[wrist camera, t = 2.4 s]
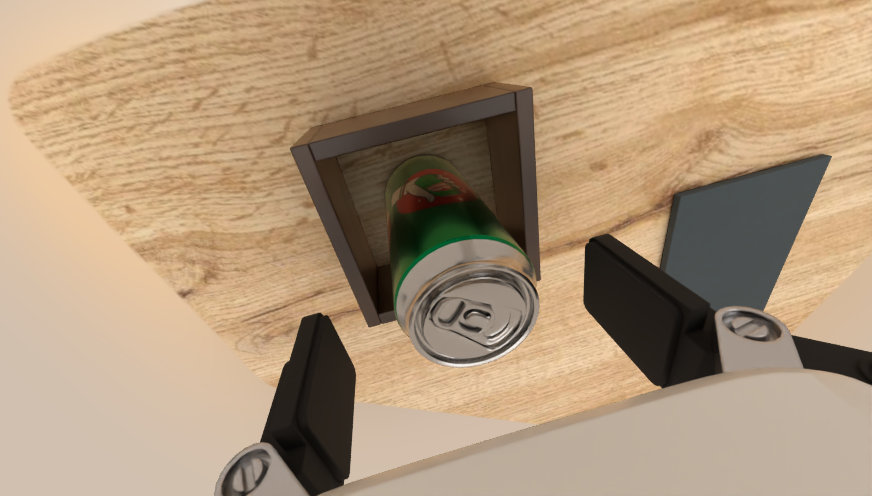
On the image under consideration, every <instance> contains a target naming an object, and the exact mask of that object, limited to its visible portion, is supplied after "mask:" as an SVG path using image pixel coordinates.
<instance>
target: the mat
mask: <svg viewBox="0 0 872 496" xmlns="http://www.w3.org/2000/svg"><path fill="white" fill-rule="evenodd" d="M831 157H832V156H829V155H824V154H822V155H818V156H815V157H811V158H807V159H804V160H800V161H796V162H792V163H789V164H785V165H781V166H778V167H774V168H770V169H766V170H763V171H759V172H755V173H752V174H748V175H744V176H740V177H737V178H733V179H729V180H726V181H722V182H718V183H714V184H711V185H707V186H703V187H699V188H696V189H692V190H688V191H685V192H681V193H677V194H675V195H674V200H673V205H672V210H671V215H670V220H669V226H668V231H667V236H666V241H665V246H664V251H663V256H662V261H661V266H660V269H661V270H662V271H664V272H665V273H667V274H668V275H669V276H671V277H672V278H674V279H675V280H677V281H678V282H680V283H681V284H683V285H684V286H685V287H687V288H688V289H690V290H691V291H693V292H694V293H696V294H697V295H699V296H700V297H701V298H703V299H704V300H706V301H707V302H709V303H710V304H711V305H710V307H711V308H712V309H714V310H715V311H718V310H720V309H722V308H725V307H731V306H741V307H749V308H753V309H757V310H760V311H763V310H764V308H765V306H766V304H767V301H768V299H769V297H770V295H771V292H772V290H773V288H774V286H775V283H776V281H777V279H778V277H779V274H780V272H781V270H782V268H783V265H784V263H785V261H786V259H787V256H788V254H789V252H790V250H791V247H792V245H793V243H794V241H795V238H796V236H797V234H798V232H799V229H800V227H801V225H802V223H803V220H804V218H805V216H806V214H807V211H808V209H809V207H810V205H811V202H812V200H813V198H814V196H815V193H816V191H817V189H818V187H819V184H820V182H821V180H822V178H823V175H824V173H825V171H826V169H827V166H828V164H829V162H830V160H831Z"/></svg>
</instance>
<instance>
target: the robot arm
mask: <svg viewBox="0 0 872 496" xmlns="http://www.w3.org/2000/svg"><path fill="white" fill-rule="evenodd" d="M583 301H584V305H585V308H586V309H587V311H588V312H589V313H590V314H591V315H592V316H593V317H594V319H595V320H596V321H597V322H598V323H599V324H600V325H601V326H602V328H603V329H604V330H605V331H606V332H607V333H608V334H609V335H610V336H611V338H612V339H613V340H614V341H615V342H616V343H617V344H618V345H619V347H620V348H621V349H622V350H623V351H624V352H625V353H626V354H627V355H628V357H629V358H630V359H631V360H632V361H633V362H634V363H635V364H636V366H637V367H638V368H639V369H640V370H641V371H642V372H643V373H644V374H645V376H646V377H647V378H648V379H649V380H650V381H651V382H652V383H653V384H654V385H656V386H660V387H661V388H662V389H659V390H655V391H652V392H648V393H645V394H641V395H638V396H635V397H631V398H628V399H624V400H621V401H618V402H614V403H611V404H607V405H604V406H600V407H597V408H594V409H590V410H587V411H583V412H580V413H577V414H573V415H570V416H566V417H563V418H560V419H556V420H553V421H550V422H546V423H543V424H540V425H536V426H533V427H530V428H526V429H523V430H520V431H516V432H513V433H510V434H506V435H503V436H500V437H496V438H493V439H490V440H486V441H483V442H480V443H476V444H473V445H470V446H466V447H463V448H460V449H457V450H453V451H450V452H447V453H444V454H440V455H437V456H434V457H430V458H427V459H424V460H420V461H417V462H414V463H411V464H407V465H404V466H401V467H398V468H395V469H392V470H388V471H385V472H382V473H379V474H376V475H373V476H370V477H367V478H364V479H361V480H358V481H355V482H352V483H348V484H346V485H344V479H347V478H348V477H349V474H350V461H351V445H352V429H353V413H354V398H355V382H356V372H355V368H354V365H353V363H352V361H351V359H350V357H349V355H348V353H347V351H346V349H345V348H344V346H343V344H342V342H341V340H340V338H339V336H338V334H337V332H336V330H335V328H334V326H333V324H332V322H331V320H330V318H329V317H328V316H327V315H325V316H323V315H322V314H321V313H317V314H313V315H309V316H306V317H303V318H302V320H301V324H300V327H299V330H298V334H297V337H296V341H295V344H294V347H293V351H292V354H291V357H290V361H288V362H287V363H286V364H285V365H284V367H283V370H282V373H281V377H280V380H279V383H278V386H277V389H276V393H275V396H274V399H273V402H272V406H271V409H270V412H269V415H268V418H267V422H266V425H265V428H264V431H263V434H262V438H261V441H260V443H256V444H253V445H251V446H249V447H246V448H245V449H243V450H242V451H241V452H239V453H238V454H237V455H236V456H235V457H233V459H232V460H231V461H230V462H229V463H228V464H227V465H226V467H225V468H224V470H223V471H222V472H221V474H220V476H219V479H218V481H217V483H216V487H215V492H214V496H872V352H868V351H863V350H858V349H854V348H849V347H845V346H840V345H835V344H831V343H826V342H821V341H816V340H812V339H807V338H802V337H798V336H793V335H791V333H790V331H789V330H788V328H787V327H786V325H785V324H784V323H782V322H781V321H780V320H779V319H777V318H776V317H774V316H772V315H770V314H768V313H766V312H763V311H760V310H757V309H753V308H749V307H741V306H731V307H725V308H722V309H720V310H718V311H715V310H714V309H712V308H711V307H710V305H711V304H710V303H709V302H707V301H706V300H704V299H703V298H701V297H700V296H699V295H697V294H696V293H694V292H693V291H691V290H690V289H688V288H687V287H685V286H684V285H683V284H681V283H680V282H678V281H677V280H675V279H674V278H672V277H671V276H669V275H668V274H667V273H665V272H664V271H662V270H661V269H659V268H658V267H656V266H655V265H653V264H652V263H651V262H649V261H648V260H646V259H645V258H643V257H642V256H640V255H639V254H637V253H636V252H635V251H633V250H632V249H630V248H629V247H627V246H626V245H624V244H623V243H621V242H620V241H619V240H617V239H616V238H614V237H613V236H611V235H609V234H604V235H600V236H597V237H593V238H591V239H590V240H589V243H587V244H586V246H585V269H584V299H583Z"/></svg>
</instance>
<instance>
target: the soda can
mask: <svg viewBox="0 0 872 496" xmlns="http://www.w3.org/2000/svg"><path fill="white" fill-rule="evenodd" d="M385 203H386V216H387V228H388V241H389V253H390V266H391V278H392V290H393V303H394V311H395V316H396V319H397V321H398V324H399V325H400V327H401V329H402V330H403V332H404V333H405V334H406V335H407V336H408V337H409V338H410V340H411V342H412V344H413V345H414V347H415V348H416V350H417V351H418V352H419V353H420V354H421V355H422V356H424V357H425V358H426V359H428V360H430V361H432V362H434V363H436V364H439V365H442V366H447V367H456V368H465V367H474V366H479V365H483V364H486V363H490V362H492V361H495V360H497V359H499V358H501V357H503V356H505V355H506V354H508V353H509V352H511V351H512V350H514V349H515V348H516V347H517V346H519V345H520V344H521V343H522V342H523V341H524V340H525V339H526V338H527V336H528V335H529V333H530V332H531V331H532V329H533V327H534V325H535V323H536V320H537V317H538V314H539V297H538V293H537V289H536V286H537V284H536V274H535V270H534V267H533V265H532V263H531V261H530V259H529V258H528V257H527V255H526V254H525V253H524V252H523V250H522V249H521V248H520V247H519V245H518V244H517V243H516V242H515V240H514V239H513V238H512V237H511V235H510V234H509V233H508V232H507V230H506V229H505V228H504V227H503V225H502V224H501V223H500V222H499V220H498V219H497V218H496V217H495V215H494V214H493V213H492V212H491V210H490V209H489V208H488V207H487V205H486V204H485V203H484V202H483V200H482V199H481V198H480V197H479V195H478V194H477V193H476V192H475V190H474V189H473V188H472V187H471V186H470V184H469V183H468V182H467V181H466V179H465V178H464V177H463V176H462V174H461V173H460V172H459V171H458V169H457V168H456V167H455V166H454V165H453V164H452V163H450V162H449V161H447V160H445V159H443V158H441V157H437V156H432V155H423V156H417V157H413V158H411V159H409V160H406V161H405V162H403V163H402V164H401V165H399V166H398V167H397V168H396V169H395V170H394V172H393V173H392V174H391V176H390V178H389V180H388V182H387V185H386V190H385Z"/></svg>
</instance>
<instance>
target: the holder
mask: <svg viewBox="0 0 872 496" xmlns="http://www.w3.org/2000/svg"><path fill="white" fill-rule="evenodd" d="M482 119H486V124H487V132H488V141H489V149H490V158H491V166H492V175H493V183H494V192H495V200H496V209H497V217H498V220H499V222H500V223H501V224H502V225H503V227H504V228H505V229H506V230H507V232H508V233H509V234H510V235H511V237H512V238H513V239H514V240H515V242H516V243H517V244H518V245H519V247H520V248H521V249H522V250H523V252H524V253H525V254H526V255H527V257H528V258H529V259H530V261H531V263H532V265H533V267H534V270H535V274H536V281H540V280H541V276H540V253H539V230H538V207H537V184H536V161H535V139H534V116H533V93H532V87H525V86H518V85H510V84H503V83H496V82H493V83H489V84H485V85H483V86H477V87H473V88H469V89H465V90H461V91H457V92H453V93H449V94H445V95H441V96H437V97H433V98H429V99H425V100H421V101H417V102H413V103H409V104H405V105H401V106H397V107H393V108H389V109H385V110H381V111H377V112H373V113H369V114H365V115H361V116H357V117H353V118H349V119H345V120H341V121H337V122H333V123H329V124H325V125H321V126H317V127H313V128H310V129H309V130H308V131H307V132H306V133H305V134H304V135H303V136H302V137H301V138H300V139H299V140H298V141H297V142H296V143H295V144H294V145H293V146H292V147H291V148H290V150H291V153H292V155H293V157H294V160H295V162H296V164H297V166H298V169H299V171H300V173H301V175H302V178H303V180H304V182H305V184H306V187H307V189H308V191H309V193H310V196H311V198H312V200H313V203H314V205H315V207H316V209H317V212H318V214H319V216H320V218H321V221H322V223H323V225H324V227H325V230H326V232H327V234H328V236H329V239H330V241H331V243H332V246H333V248H334V250H335V252H336V255H337V257H338V259H339V261H340V264H341V266H342V268H343V270H344V273H345V275H346V277H347V279H348V282H349V284H350V286H351V289H352V291H353V293H354V295H355V298H356V300H357V302H358V304H359V307H360V309H361V311H362V313H363V316H364V318H365V320H366V322H367V325H368V327H373V326H377V325H380V324H381V323H382V324H384V323H388V322H391V321H395V320H397V319H396V316H395V311H394V303H393V290H392V278H391V266H390V265H387V266H383V267H379V268H378V269H377V266H376V263H375V261H374V258H373V255H372V253H371V250H370V247H369V245H368V242H367V239H366V237H365V234H364V231H363V228H362V226H361V223H360V220H359V218H358V215H357V212H356V210H355V207H354V204H353V202H352V199H351V196H350V194H349V191H348V188H347V185H346V183H345V180H344V177H343V175H342V172H341V169H340V167H339V164H338V161H337V159H336V156H340V155H344V154H348V153H352V152H356V151H360V150H364V149H368V148H372V147H375V146H379V145H383V144H387V143H391V142H395V141H399V140H403V139H407V138H411V137H415V136H419V135H423V134H427V133H431V132H435V131H439V130H443V129H447V128H450V127H454V126H458V125H462V124H466V123H470V122H474V121H478V120H482Z"/></svg>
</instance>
